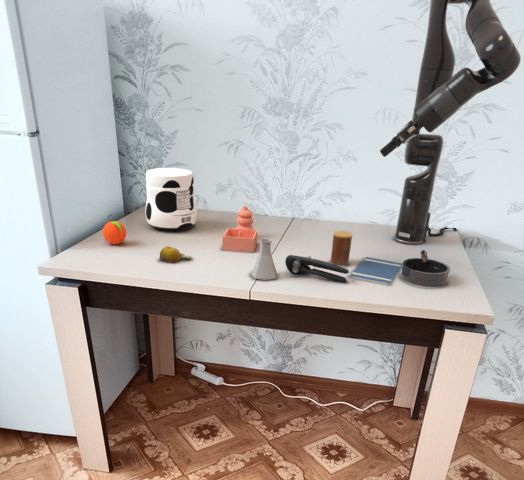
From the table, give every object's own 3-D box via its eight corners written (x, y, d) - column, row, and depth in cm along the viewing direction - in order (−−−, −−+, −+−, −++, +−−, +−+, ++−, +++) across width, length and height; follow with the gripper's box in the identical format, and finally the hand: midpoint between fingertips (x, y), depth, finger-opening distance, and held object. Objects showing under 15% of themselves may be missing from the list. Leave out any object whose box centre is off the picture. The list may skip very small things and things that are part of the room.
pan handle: (427, 266, 142) (428, 260, 141) (421, 265, 142) (422, 259, 141) (426, 255, 150) (427, 249, 149) (419, 254, 150) (421, 248, 149)
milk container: (155, 218, 182) (152, 165, 173) (202, 221, 180) (201, 169, 171) (139, 231, 167) (134, 175, 158) (189, 235, 165) (188, 178, 156)
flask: (250, 270, 139) (251, 235, 134) (276, 270, 140) (278, 235, 135) (251, 280, 133) (252, 243, 128) (278, 280, 134) (281, 244, 129)
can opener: (280, 276, 137) (281, 256, 134) (288, 268, 142) (290, 248, 140) (344, 287, 132) (347, 267, 129) (350, 278, 137) (352, 258, 134)
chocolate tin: (342, 259, 150) (346, 230, 146) (352, 266, 146) (356, 235, 142) (326, 261, 148) (329, 231, 144) (336, 267, 144) (339, 237, 140)
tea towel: (366, 258, 153) (366, 256, 152) (402, 264, 149) (402, 263, 148) (349, 277, 138) (349, 275, 138) (389, 284, 134) (389, 283, 134)
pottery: (253, 252, 153) (254, 220, 148) (222, 249, 154) (222, 217, 149) (260, 235, 169) (261, 205, 164) (232, 233, 169) (232, 203, 165)
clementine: (133, 245, 154) (131, 222, 151) (113, 249, 150) (110, 226, 146) (119, 238, 159) (117, 216, 156) (99, 243, 155) (96, 220, 151)
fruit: (193, 259, 146) (193, 246, 144) (171, 265, 140) (170, 253, 138) (175, 252, 150) (174, 240, 149) (153, 258, 145) (152, 246, 143)
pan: (426, 269, 146) (429, 256, 144) (456, 285, 136) (459, 271, 134) (391, 274, 142) (393, 260, 140) (419, 290, 132) (422, 276, 130)
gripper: (431, 94, 132) (381, 137, 141) (426, 96, 120) (371, 143, 129) (448, 118, 133) (396, 159, 142) (444, 122, 121) (388, 167, 130)
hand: (384, 151), depth 136 cm, fingers open, 8 cm apart
